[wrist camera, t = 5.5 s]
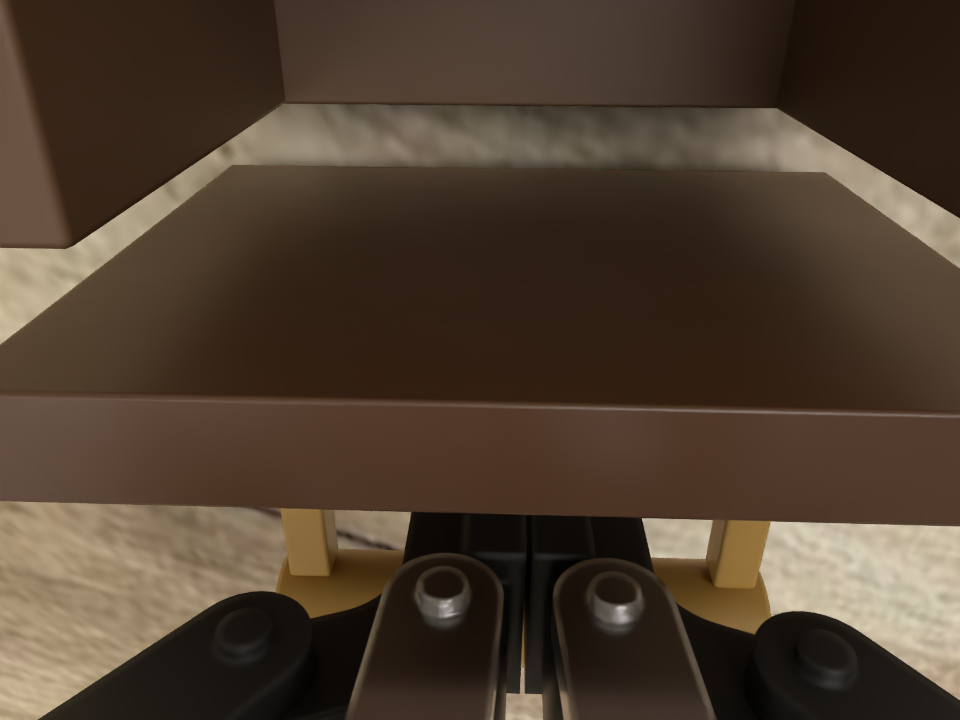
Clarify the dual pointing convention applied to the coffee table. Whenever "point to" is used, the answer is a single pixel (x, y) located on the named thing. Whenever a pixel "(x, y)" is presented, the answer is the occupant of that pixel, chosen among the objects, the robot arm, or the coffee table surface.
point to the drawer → (485, 278)
